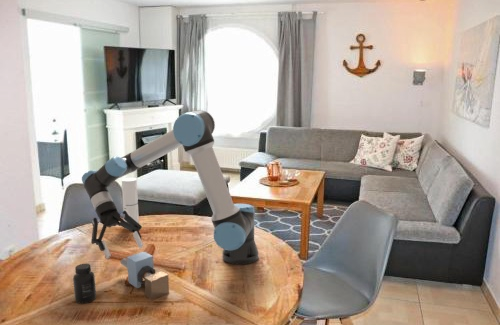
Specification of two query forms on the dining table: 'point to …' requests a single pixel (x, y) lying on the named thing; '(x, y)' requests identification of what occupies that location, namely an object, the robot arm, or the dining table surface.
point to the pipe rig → (153, 283)
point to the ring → (143, 270)
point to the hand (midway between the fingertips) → (125, 252)
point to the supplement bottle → (84, 284)
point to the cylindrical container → (130, 198)
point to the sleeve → (138, 266)
